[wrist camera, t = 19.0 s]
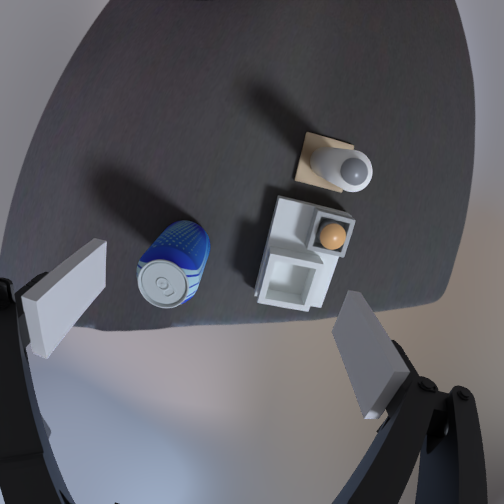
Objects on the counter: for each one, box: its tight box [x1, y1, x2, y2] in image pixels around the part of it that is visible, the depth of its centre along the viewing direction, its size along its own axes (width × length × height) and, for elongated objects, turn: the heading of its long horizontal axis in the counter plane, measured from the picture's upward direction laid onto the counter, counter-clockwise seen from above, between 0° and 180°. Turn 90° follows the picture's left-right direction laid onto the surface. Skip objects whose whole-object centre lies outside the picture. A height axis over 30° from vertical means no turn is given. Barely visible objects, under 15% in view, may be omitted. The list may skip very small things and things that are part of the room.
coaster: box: [295, 132, 354, 193], centre depth 47 cm, size 8×8×1 cm
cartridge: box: [310, 147, 372, 192], centre depth 40 cm, size 5×5×14 cm
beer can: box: [137, 220, 210, 308], centre depth 44 cm, size 8×8×16 cm
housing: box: [254, 195, 356, 311], centre depth 49 cm, size 17×12×6 cm
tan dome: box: [316, 219, 346, 250], centre depth 46 cm, size 4×4×3 cm
